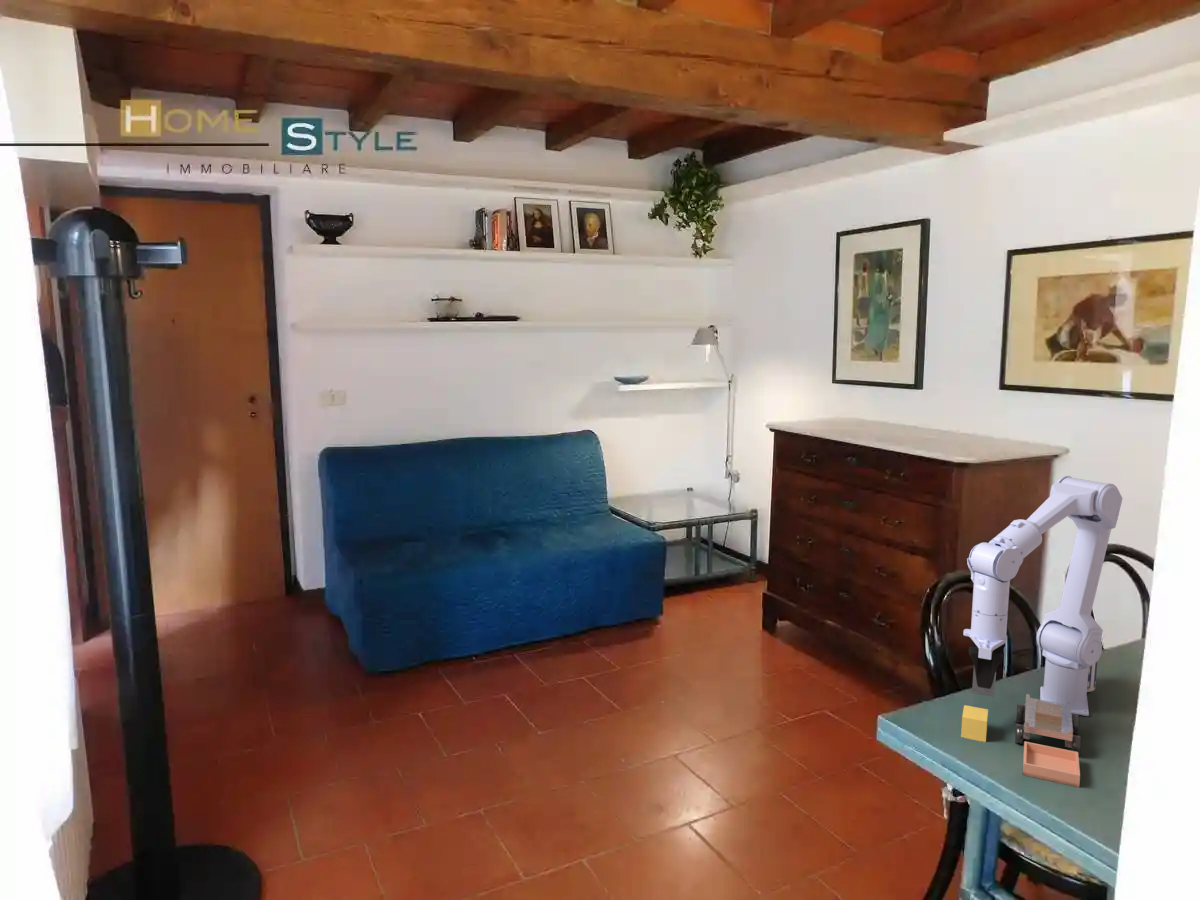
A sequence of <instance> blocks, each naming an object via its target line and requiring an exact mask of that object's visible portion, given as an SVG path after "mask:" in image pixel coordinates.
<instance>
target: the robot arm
mask: <svg viewBox="0 0 1200 900" xmlns="http://www.w3.org/2000/svg"><path fill="white" fill-rule="evenodd" d="M1122 503H1123V496H1122V495H1121V493H1120V490H1119V488H1118V486H1116V485H1115V484H1114V483H1106V482H1100V481H1099V482H1098V481H1093V480H1087V479H1084V478H1083V479H1082V478H1076V477H1073V476H1070V475H1063V476H1061V477H1059V479H1057V480H1056V482H1054V483H1053V484H1052V485H1051V487H1050V492H1049V497H1048V498H1047V499H1045V501H1044V502H1043V503H1042V504H1041V505H1040V506H1039V507H1038V508H1037V509H1036V510H1035V511H1033V513H1032V514H1031V515H1030V516H1029V517H1027V519H1024V518H1023V519H1014V520H1012V522H1010V524H1009V525H1008V526H1007V527H1006V528H1004V529H1003V530H1002V531H1000V533H998V534H997V535H996V536H995V537H993V538H992V539H991V540H989V542H980V543H978V544H976V545H975V546H973V547H972V548H971V550H970V553H969V556H968V558H966V561H967V566H968V569H969V571H970V579H971V581H972V583H973V590H972V603H971V605H972V607H971V619H970V620H971V621H970V622H971V624H970V625H971V626H970V628H965V629H963V631H962V632H963V636H964V637H969V638H970V639H971V640H970V641H971V644H972V646H971V645H970V646H969V648H968V655H969V657H970V658H971V661H972V663H973V669H974V668H975V674H976V681H977V685H978V687H982V688H987V689H990V688H991V686H992V683H993V680H994V676H995V672H996V673H997V669H998V667H999V665H1000V664H1001V662H1002V661H1003V660H1004V658H1005V653H1003V650H1004V649H1005V647H1006V644H1007V642H1008V635H1007V631H1008V630H1007V628H1008V626H1007V625H1008V615H1009V613H1008V612H1009V598H1010V585H1011V584H1010V583H1011V580H1012V579H1014V578H1015V577H1016V575H1017V574H1018V572H1019V569H1020V567H1021V565H1022V564H1023V562H1024V560H1025V557H1027V556H1029V554H1030V553H1032V552H1033V551H1034V550H1035V549H1037V548H1038V547H1039V546H1040V545H1041V544H1042V542H1043V535H1042V534H1044V533H1046V532H1047V531H1048V530H1050V529H1051V528H1053V527H1054V526H1055V525H1058V523H1060V522H1061V521H1062V520H1063V521H1064V519H1065V518H1067V517H1068V518H1069V519H1070V520H1072V521H1073V522H1074V525H1075V526H1076V528H1077V533H1076V536H1075V541H1074V545H1073V549H1072V553H1071V558H1070V561H1069V565H1068V569H1067V574H1066V579H1065V582H1064V586H1063V591H1062V596H1061V599H1060V602H1059V607H1057V608H1055V609H1053V610H1051V611H1048V612H1046V613H1045V615H1044V619H1043V621H1042V623H1041V624H1040V626H1039V628H1038V630H1037V631H1036V632H1037V633H1036V645H1037V647H1038V648H1039V649H1040V650H1041V651H1042V654H1041V656H1043V657H1044V658H1045V662H1044V663H1045V664H1044V677H1043V678H1044V679H1043V686H1042V685H1041V686H1040V688H1039V689H1040V690H1039V692H1040V694H1039V695H1040V696H1039V697H1040V698H1039V699H1040V700H1045V701H1051V702H1056V703H1062V704H1067V701H1068V702H1071V713H1072V714H1075V715H1079V716H1085V717H1089V716H1090V712H1089V704H1088V703H1089V702H1088V696H1087V693H1088V692H1087V683H1088V671H1089V667H1090V666H1092V665H1093V664H1095V663H1096V662H1097V663H1098V661H1099V659H1100V658H1101V655H1102V653H1103V652H1102V651H1103V646H1102V645H1103V644H1102V637H1103V633H1104V632H1103V631H1104V630H1103V629H1102V627H1101V626H1100V624H1099V623H1098V622H1097V621H1096V620H1095V619H1094V617H1093V616H1092V611H1093V607H1094V603H1095V598H1096V594H1097V591H1098V590H1097V589H1098V585H1099V583H1100V582H1099V581H1100V577H1101V574H1102V570H1103V566H1104V562H1105V561H1104V560H1105V557H1106V551H1107V549H1108V545H1109V541H1110V537H1111V532H1112V529H1115V528H1116V527H1117V523H1118V520H1119V515H1120V511H1121V506H1122Z"/></svg>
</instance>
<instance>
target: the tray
mask: <svg viewBox="0 0 1200 900" xmlns="http://www.w3.org/2000/svg"><path fill="white" fill-rule="evenodd" d="M1022 757H1023V761H1022V775H1023V776H1027V777H1030V778H1035V779H1040V780H1044V781H1049V782H1053V783H1058V784H1061V785H1062V784H1063V785H1066V784H1067V786H1072V787H1075V788H1080V781H1081V780H1080V779H1081V771H1080V770H1081V769H1080V758H1079V755H1078V752H1075V751H1071V749H1070V750H1069V749H1065V748H1059V747H1055V746H1049V745H1044V744H1039V743H1034V742H1030V741H1024V740H1023V756H1022Z"/></svg>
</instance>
